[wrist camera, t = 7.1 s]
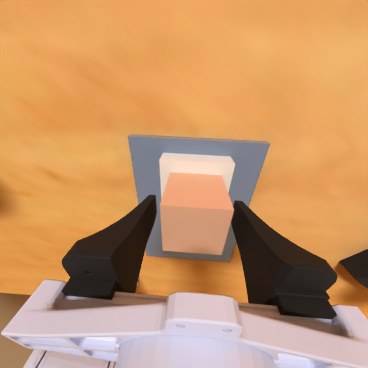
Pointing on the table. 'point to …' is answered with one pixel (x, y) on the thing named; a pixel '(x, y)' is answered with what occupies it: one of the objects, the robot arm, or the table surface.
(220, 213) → the terracotta block
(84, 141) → the table surface
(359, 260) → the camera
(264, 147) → the board
